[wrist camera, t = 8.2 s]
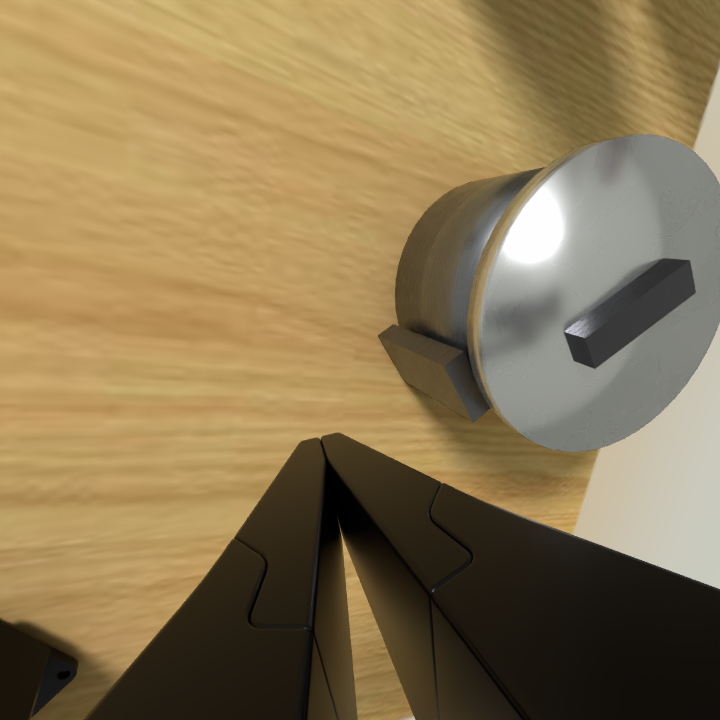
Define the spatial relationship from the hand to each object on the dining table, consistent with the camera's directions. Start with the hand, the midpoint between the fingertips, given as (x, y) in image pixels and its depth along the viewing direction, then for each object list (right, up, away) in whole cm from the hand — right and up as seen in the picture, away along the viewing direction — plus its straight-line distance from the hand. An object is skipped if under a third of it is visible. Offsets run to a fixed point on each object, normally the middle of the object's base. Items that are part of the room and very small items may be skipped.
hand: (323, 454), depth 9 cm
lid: (+10, +4, +8) cm, 14 cm away
